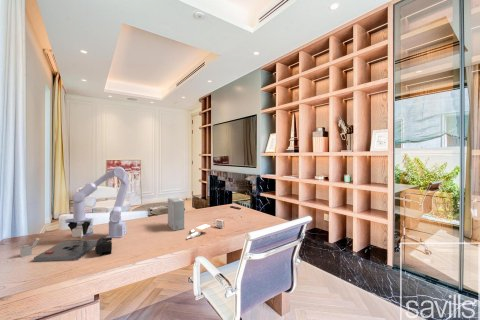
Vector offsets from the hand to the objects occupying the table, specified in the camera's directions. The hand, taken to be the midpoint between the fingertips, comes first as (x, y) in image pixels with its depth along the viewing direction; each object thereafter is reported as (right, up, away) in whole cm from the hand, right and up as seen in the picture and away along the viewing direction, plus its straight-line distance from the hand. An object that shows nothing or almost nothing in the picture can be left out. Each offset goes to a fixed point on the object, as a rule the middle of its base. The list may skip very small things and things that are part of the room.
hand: (79, 234), depth 129 cm
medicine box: (-4, -4, +10) cm, 12 cm away
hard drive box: (+50, -4, +26) cm, 56 cm away
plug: (0, -2, 0) cm, 2 cm away
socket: (+5, -4, -14) cm, 16 cm away
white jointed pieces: (+71, -5, +16) cm, 73 cm away
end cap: (+23, -5, -14) cm, 28 cm away
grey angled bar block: (-13, -5, -18) cm, 22 cm away
